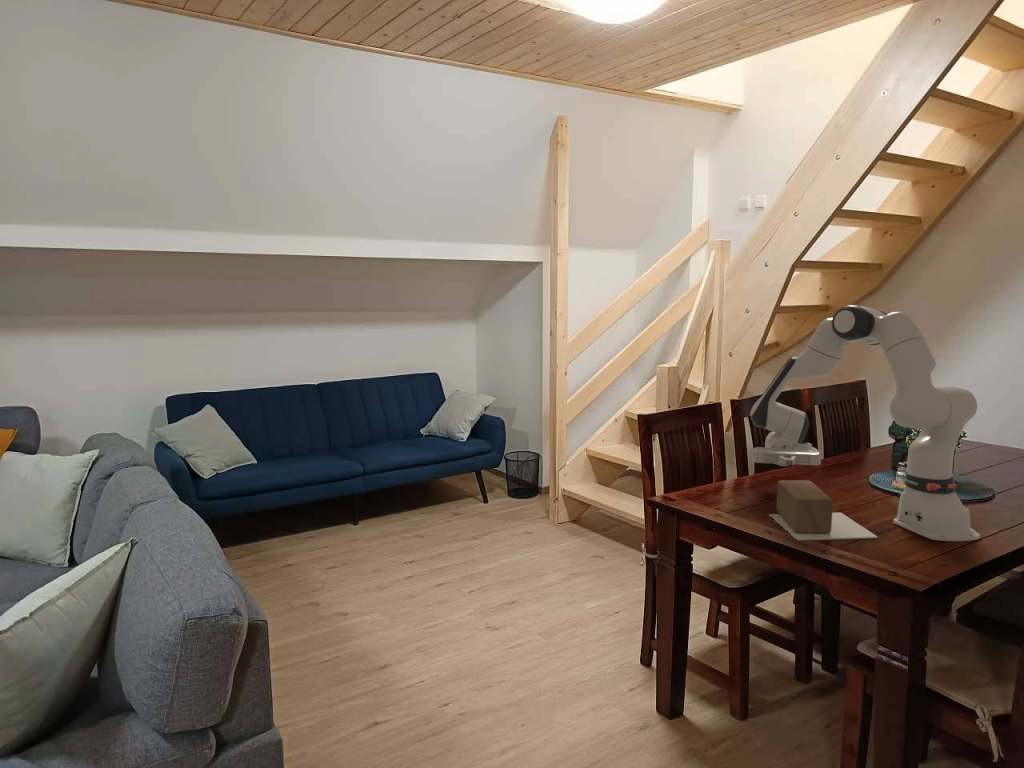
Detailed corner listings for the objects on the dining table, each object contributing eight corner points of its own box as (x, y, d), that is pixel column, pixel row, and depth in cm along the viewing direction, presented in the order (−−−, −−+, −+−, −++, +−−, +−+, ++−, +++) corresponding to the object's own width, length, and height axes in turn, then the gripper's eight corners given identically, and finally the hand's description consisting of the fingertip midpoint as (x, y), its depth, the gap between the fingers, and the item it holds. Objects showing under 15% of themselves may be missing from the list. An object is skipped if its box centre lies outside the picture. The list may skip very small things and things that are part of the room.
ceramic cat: (885, 467, 271) (888, 414, 268) (893, 464, 275) (896, 412, 272) (942, 478, 255) (946, 422, 253) (950, 475, 259) (954, 419, 256)
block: (811, 479, 219) (834, 499, 199) (809, 511, 220) (832, 534, 200) (776, 479, 220) (796, 498, 200) (775, 511, 221) (794, 534, 201)
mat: (877, 538, 198) (877, 536, 198) (797, 540, 198) (797, 538, 197) (840, 513, 219) (840, 512, 219) (767, 515, 218) (767, 514, 218)
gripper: (749, 441, 239) (753, 451, 226) (816, 443, 235) (824, 453, 221) (749, 459, 240) (753, 470, 227) (815, 462, 236) (823, 473, 222)
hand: (788, 462), depth 224 cm, fingers closed
